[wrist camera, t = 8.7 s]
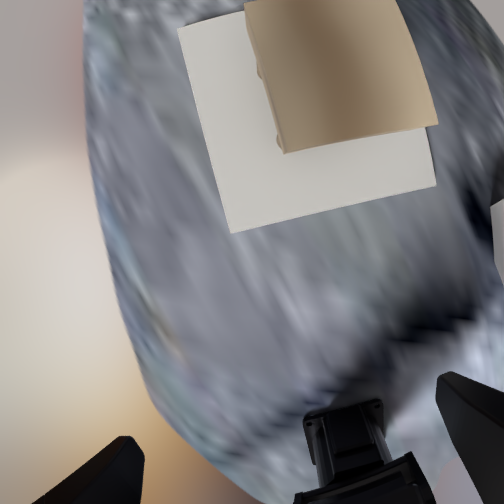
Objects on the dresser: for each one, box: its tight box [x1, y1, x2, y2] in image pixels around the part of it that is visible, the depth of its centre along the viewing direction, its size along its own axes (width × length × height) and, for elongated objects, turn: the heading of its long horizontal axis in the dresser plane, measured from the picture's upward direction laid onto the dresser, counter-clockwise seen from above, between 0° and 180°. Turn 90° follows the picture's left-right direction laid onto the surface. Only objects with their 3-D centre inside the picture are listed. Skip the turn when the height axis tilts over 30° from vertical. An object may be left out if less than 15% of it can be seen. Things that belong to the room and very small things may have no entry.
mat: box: [177, 11, 436, 234], centre depth 17 cm, size 13×13×1 cm
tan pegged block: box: [244, 0, 439, 155], centre depth 13 cm, size 6×6×7 cm
